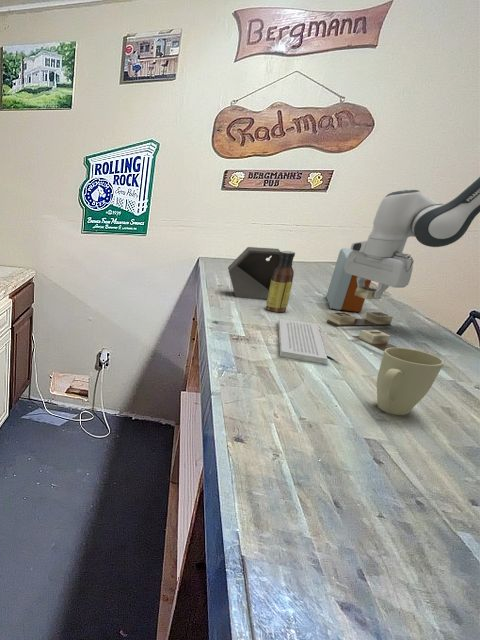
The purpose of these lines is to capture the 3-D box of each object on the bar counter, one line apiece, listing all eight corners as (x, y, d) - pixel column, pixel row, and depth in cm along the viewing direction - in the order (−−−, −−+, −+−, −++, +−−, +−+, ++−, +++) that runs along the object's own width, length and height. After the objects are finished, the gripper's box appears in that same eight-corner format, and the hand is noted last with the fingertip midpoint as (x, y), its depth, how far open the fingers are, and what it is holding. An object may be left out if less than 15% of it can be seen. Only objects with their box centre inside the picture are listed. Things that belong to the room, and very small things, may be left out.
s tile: (354, 295, 141) (356, 286, 140) (368, 294, 142) (371, 286, 141) (365, 299, 137) (368, 290, 136) (380, 299, 137) (383, 290, 136)
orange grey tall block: (360, 313, 153) (381, 252, 145) (329, 309, 157) (348, 249, 149) (353, 300, 168) (372, 243, 160) (325, 297, 172) (342, 241, 164)
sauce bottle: (281, 308, 159) (296, 250, 151) (288, 313, 153) (304, 253, 145) (261, 307, 160) (275, 249, 152) (267, 312, 154) (282, 253, 146)
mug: (354, 394, 100) (373, 344, 95) (410, 403, 96) (432, 351, 92) (369, 418, 91) (390, 363, 86) (432, 429, 87) (458, 372, 82)
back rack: (375, 321, 146) (379, 310, 145) (391, 327, 141) (395, 316, 139) (325, 322, 145) (329, 311, 144) (339, 328, 140) (343, 317, 138)
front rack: (370, 338, 132) (374, 327, 130) (420, 361, 117) (425, 348, 116) (350, 339, 131) (354, 327, 130) (397, 361, 117) (402, 348, 115)
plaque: (279, 318, 143) (317, 323, 139) (278, 323, 144) (315, 328, 140) (281, 351, 119) (327, 358, 115) (280, 356, 119) (325, 364, 115)
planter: (217, 282, 173) (262, 237, 162) (217, 278, 179) (259, 234, 168) (253, 310, 171) (301, 267, 160) (251, 305, 178) (297, 263, 167)
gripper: (426, 255, 124) (407, 304, 130) (366, 243, 143) (352, 286, 148) (404, 255, 124) (386, 304, 129) (347, 243, 143) (334, 286, 148)
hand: (367, 294), depth 139 cm, fingers closed on s tile, 4 cm apart
